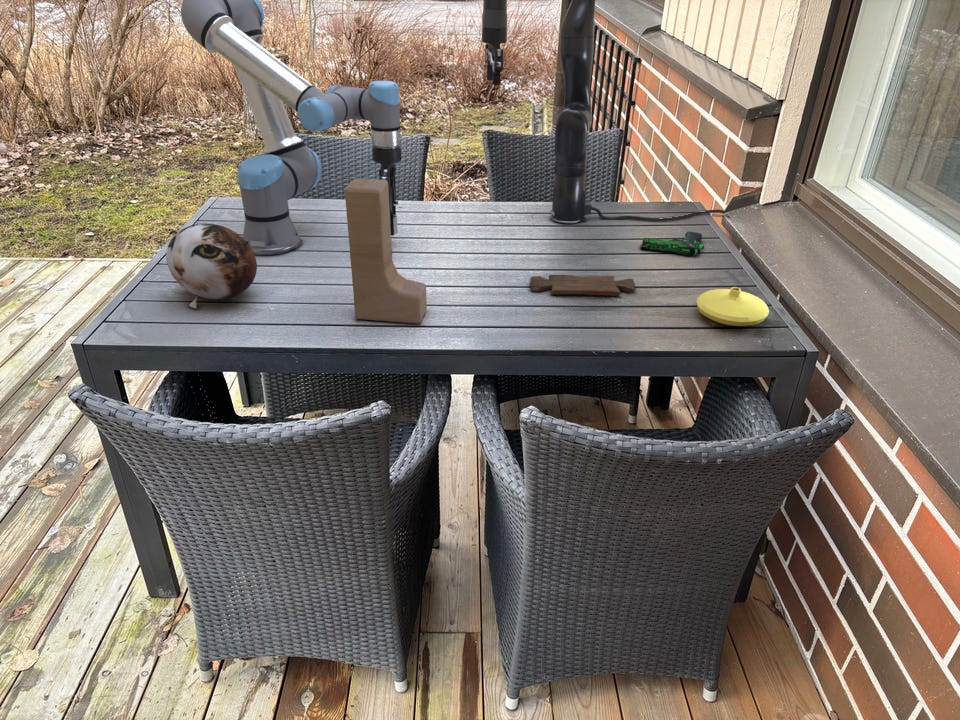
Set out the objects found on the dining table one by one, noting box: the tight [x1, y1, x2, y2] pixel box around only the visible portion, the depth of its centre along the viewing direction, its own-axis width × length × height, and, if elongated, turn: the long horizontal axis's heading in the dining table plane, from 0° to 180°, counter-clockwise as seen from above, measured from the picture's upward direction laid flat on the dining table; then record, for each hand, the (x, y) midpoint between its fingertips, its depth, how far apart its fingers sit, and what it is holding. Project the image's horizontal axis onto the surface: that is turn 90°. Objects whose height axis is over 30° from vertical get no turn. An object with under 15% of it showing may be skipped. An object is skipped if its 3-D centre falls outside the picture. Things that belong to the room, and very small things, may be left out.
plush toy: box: [165, 222, 258, 309], centre depth 165 cm, size 22×18×20 cm
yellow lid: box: [696, 286, 770, 327], centre depth 161 cm, size 16×16×7 cm
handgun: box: [640, 231, 705, 257], centre depth 200 cm, size 16×3×15 cm
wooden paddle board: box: [529, 274, 635, 297], centre depth 175 cm, size 26×2×10 cm
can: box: [393, 214, 398, 235], centre depth 195 cm, size 4×4×5 cm
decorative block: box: [344, 177, 428, 324], centre depth 154 cm, size 8×15×30 cm, turn 82°
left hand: (390, 231), depth 196 cm, fingers closed on can, 4 cm apart
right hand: (493, 82), depth 222 cm, fingers open, 8 cm apart
